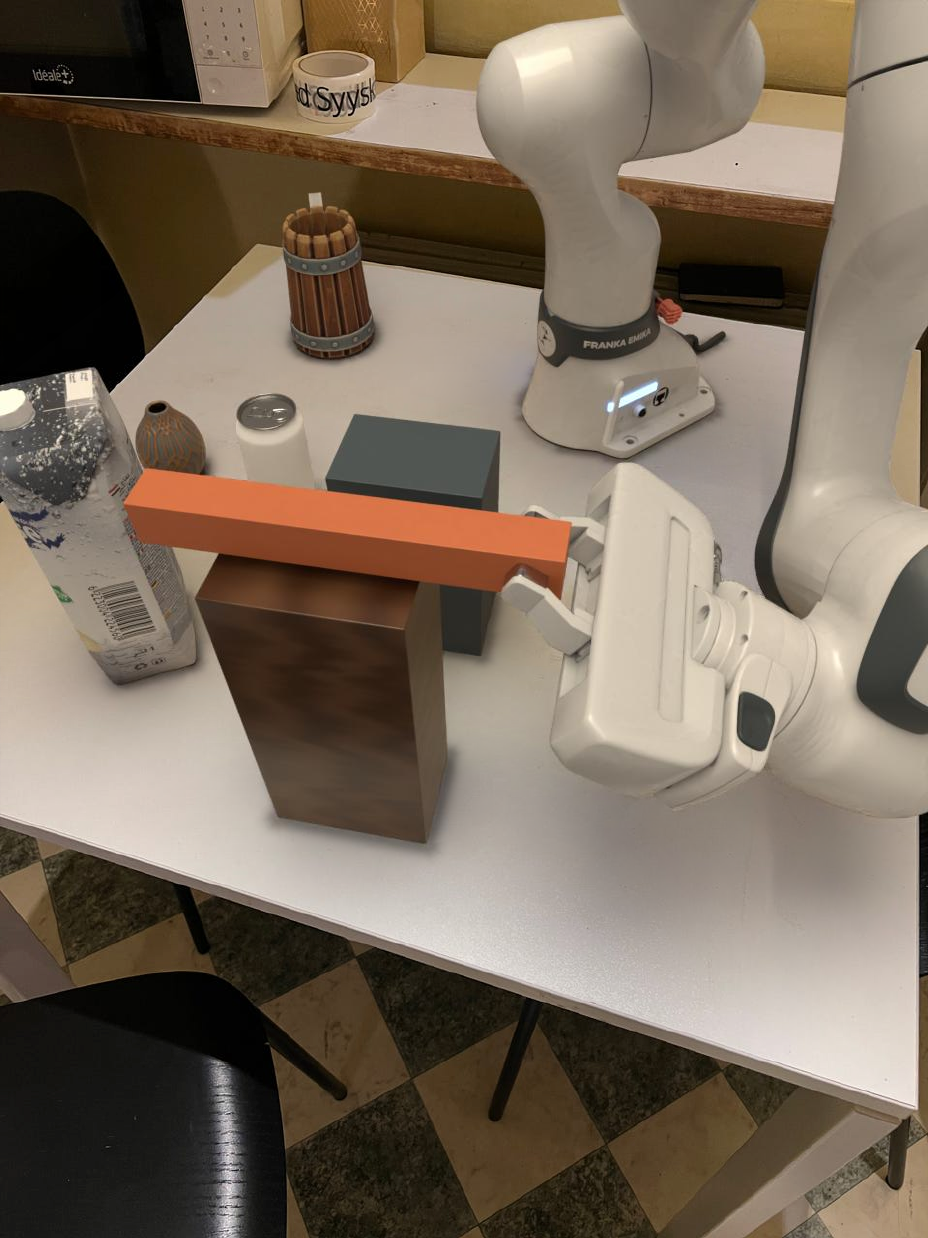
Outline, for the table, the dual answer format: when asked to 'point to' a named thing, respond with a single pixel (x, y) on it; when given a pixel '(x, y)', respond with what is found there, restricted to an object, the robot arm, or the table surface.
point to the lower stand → (427, 492)
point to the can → (274, 441)
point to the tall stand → (334, 689)
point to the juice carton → (91, 523)
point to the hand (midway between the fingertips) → (514, 549)
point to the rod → (345, 530)
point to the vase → (169, 440)
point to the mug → (326, 282)
